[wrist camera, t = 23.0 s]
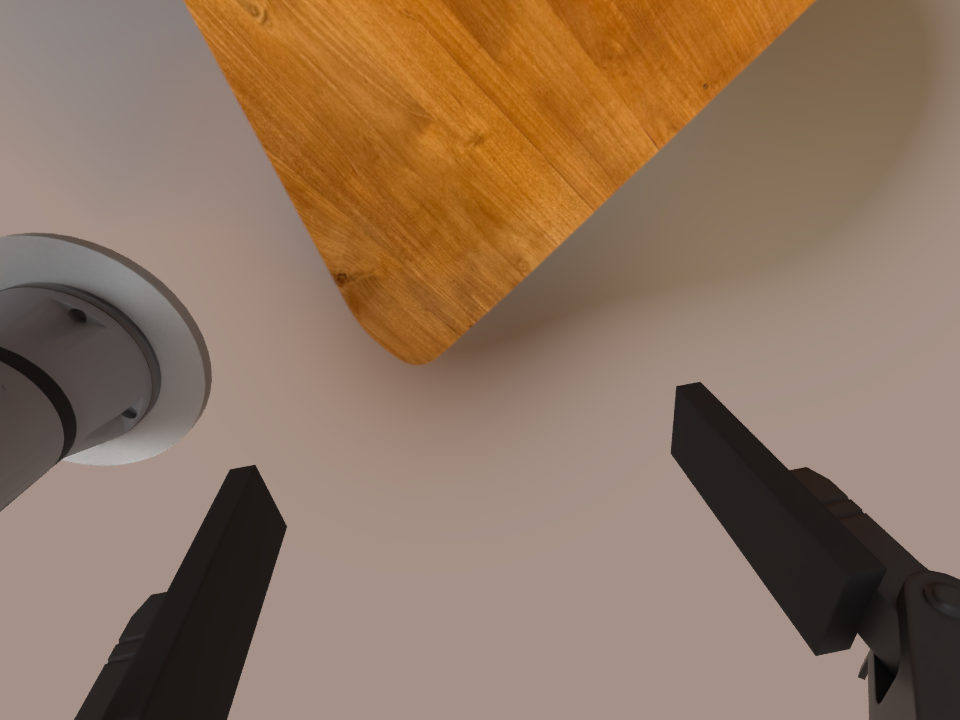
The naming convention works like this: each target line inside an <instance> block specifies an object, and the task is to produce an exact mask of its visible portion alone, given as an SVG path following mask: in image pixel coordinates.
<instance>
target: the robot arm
mask: <svg viewBox="0 0 960 720" xmlns="http://www.w3.org/2000/svg"><path fill="white" fill-rule="evenodd" d="M160 387H161V372H160V367H159V363H158V359H157V357H156V354H155V352H154V350H153V348H152V346H151V344H150V342H149V341H148V339H147V338H146V336H145V335H144V334H143V332H142V331H141V330H140V329H139V327H138V326H137V325H136V324H135V323H134V322H133V321H132V320H131V319H130V318H129V317H128V316H126V315H125V314H124V313H123V312H121V311H120V310H119V309H118V308H116V307H115V306H113V305H112V304H110V303H109V302H107V301H105V300H103V299H102V298H100V297H98V296H96V295H94V294H91V293H89V292H86V291H84V290H81V289H78V288H75V287H71V286H67V285H63V284H57V283H47V282H33V283H24V284H19V285H15V286H12V287H9V288H6V289H3V290H0V511H1V510H3V509H4V508H5V507H6V506H8V505H9V504H10V503H11V502H12V501H13V500H15V499H16V498H17V497H18V496H19V495H20V494H22V493H23V492H24V491H25V490H26V489H27V488H29V487H30V486H31V485H32V484H33V483H34V482H36V481H37V480H38V479H39V478H40V477H42V476H43V475H44V474H45V473H46V472H47V471H49V470H50V469H51V468H52V467H53V466H54V465H55V464H57V463H58V462H59V461H60V460H62V459H63V458H64V457H67V456H70V455H72V454H75V453H77V452H80V451H83V450H85V449H88V448H91V447H93V446H96V445H99V444H101V443H104V442H107V441H109V440H112V439H114V438H116V437H118V436H120V435H122V434H123V433H125V432H127V431H129V430H130V429H131V428H133V427H134V426H135V425H137V424H138V423H139V422H140V421H141V420H142V419H143V418H144V417H145V416H146V415H147V414H148V413H149V412H150V411H151V410H152V408H153V407H154V405H155V403H156V401H157V399H158V396H159V393H160ZM671 454H672V456H673V457H674V458H675V460H676V461H677V463H678V464H679V466H680V467H681V468H682V470H683V471H684V473H685V474H686V475H687V477H688V478H689V480H690V481H691V482H692V484H693V485H694V487H695V488H696V489H697V491H698V492H699V493H700V495H701V496H702V498H703V499H704V500H705V502H706V503H707V505H708V506H709V507H710V509H711V510H712V511H713V513H714V514H715V516H716V517H717V519H718V520H719V521H720V523H721V524H722V526H723V527H724V528H725V530H726V531H727V533H728V534H729V535H730V537H731V538H732V539H733V541H734V542H735V544H736V545H737V547H738V548H739V549H740V551H741V552H742V554H743V555H744V556H745V558H746V559H747V561H748V562H749V563H750V564H751V566H752V567H753V569H754V570H755V572H756V573H757V575H758V576H759V577H760V579H761V580H762V581H763V583H764V584H765V586H766V587H767V588H768V590H769V591H770V593H771V594H772V595H773V597H774V598H775V600H776V601H777V602H778V604H779V605H780V607H781V608H782V609H783V611H784V612H785V614H786V615H787V616H788V618H789V619H790V621H791V622H792V623H793V625H794V626H795V628H796V629H797V630H798V632H799V633H800V635H801V636H802V637H803V639H804V640H805V641H806V643H807V644H808V646H809V647H810V648H811V650H812V651H813V653H814V654H815V655H816V656H818V655H823V654H827V653H832V652H837V651H842V650H847V649H850V647H851V645H852V643H853V641H854V639H855V637H856V635H857V633H858V634H859V635H860V637H861V638H862V639H863V640H864V642H865V643H866V644H867V645H868V646H869V647H870V651H869V652H868V655H867V656H866V658H865V660H864V663H863V664H862V666H861V668H860V672H859V675H858V677H859V678H862V679H864V680H865V678H866V676H867V674H868V693H869V720H960V580H959V579H957V578H955V577H952V576H950V575H947V574H944V573H940V572H935V571H930V570H928V569H927V568H925V567H924V566H923V565H922V564H921V563H919V562H918V561H917V560H916V559H915V558H914V557H913V556H912V555H911V554H910V553H909V552H908V551H906V550H905V549H904V548H903V547H902V546H901V545H900V544H899V543H898V542H897V541H896V540H894V539H893V538H892V537H891V536H890V535H889V534H888V533H887V532H886V531H885V530H884V529H883V528H881V527H880V526H879V525H878V524H877V523H876V522H875V521H874V520H873V519H872V518H870V517H869V516H868V515H867V514H866V513H865V514H864V513H863V512H862V509H861V508H860V507H859V506H858V505H856V504H855V503H854V502H853V501H852V500H849V499H848V497H847V496H846V494H845V493H843V492H842V491H841V490H840V489H839V488H838V487H837V486H836V485H835V484H834V483H832V482H831V481H830V480H829V479H827V478H825V477H824V476H822V475H820V474H818V473H816V472H815V471H813V470H811V469H809V468H807V467H804V468H799V469H794V470H788V469H787V468H786V467H785V466H784V465H783V464H782V463H781V462H780V461H779V460H778V459H777V458H776V457H775V456H774V455H773V454H772V453H771V452H770V451H769V450H768V449H767V448H766V447H765V446H764V445H763V444H762V443H761V442H760V441H759V440H758V439H757V438H756V437H755V436H754V435H753V434H752V433H751V432H750V431H749V430H748V429H747V428H746V427H745V426H744V425H743V424H742V423H741V422H740V421H739V420H738V419H737V418H736V417H735V416H734V415H733V414H732V413H731V412H730V411H729V410H728V409H727V408H726V407H725V406H724V405H723V404H722V403H721V402H720V401H719V400H718V399H717V398H716V397H715V396H714V395H713V394H712V393H711V392H710V391H709V390H708V389H707V388H706V387H705V386H704V385H703V384H702V383H701V382H698V383H692V384H686V385H681V386H676V398H675V409H674V421H673V433H672V445H671ZM286 528H287V526H286V524H285V522H284V520H283V518H282V516H281V514H280V512H279V510H278V508H277V506H276V504H275V502H274V500H273V498H272V496H271V494H270V492H269V491H268V489H267V487H266V485H265V483H264V481H263V479H262V477H261V475H260V473H259V471H258V469H257V467H256V465H252V466H246V467H241V468H236V469H231V470H230V471H229V473H228V475H227V476H226V479H225V480H224V482H223V484H222V486H221V488H220V490H219V492H218V494H217V496H216V498H215V500H214V502H213V504H212V505H211V508H210V509H209V511H208V513H207V515H206V517H205V519H204V521H203V523H202V525H201V527H200V529H199V531H198V533H197V535H196V537H195V538H194V541H193V543H192V544H191V547H190V548H189V550H188V552H187V554H186V556H185V558H184V560H183V562H182V564H181V566H180V568H179V569H178V572H177V573H176V575H175V577H174V579H173V581H172V583H171V585H170V587H169V589H168V591H167V592H164V593H159V594H153V595H151V596H150V597H149V598H148V599H147V600H146V602H145V603H144V604H143V605H142V606H141V607H140V608H139V609H138V610H137V612H136V613H135V614H134V615H133V616H132V617H131V619H130V621H129V623H128V624H127V626H126V628H125V630H124V631H123V633H122V635H121V637H120V639H119V644H118V645H116V646H115V648H114V649H113V651H112V653H111V655H110V657H109V658H108V664H105V665H104V667H103V669H102V671H101V673H100V675H99V676H98V678H97V680H96V682H95V684H94V685H93V687H92V689H91V691H90V692H89V694H88V696H87V698H86V700H85V701H84V703H83V705H82V707H81V709H80V710H79V712H78V714H77V716H76V717H75V719H74V720H227V718H228V714H229V711H230V708H231V705H232V702H233V698H234V695H235V691H236V689H237V685H238V682H239V679H240V676H241V673H242V669H243V666H244V663H245V660H246V657H247V653H248V650H249V647H250V644H251V640H252V637H253V634H254V631H255V628H256V625H257V621H258V618H259V615H260V612H261V608H262V605H263V602H264V599H265V596H266V592H267V589H268V586H269V583H270V580H271V576H272V573H273V569H274V567H275V564H276V560H277V557H278V554H279V551H280V547H281V544H282V541H283V538H284V535H285V531H286Z"/></svg>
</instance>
